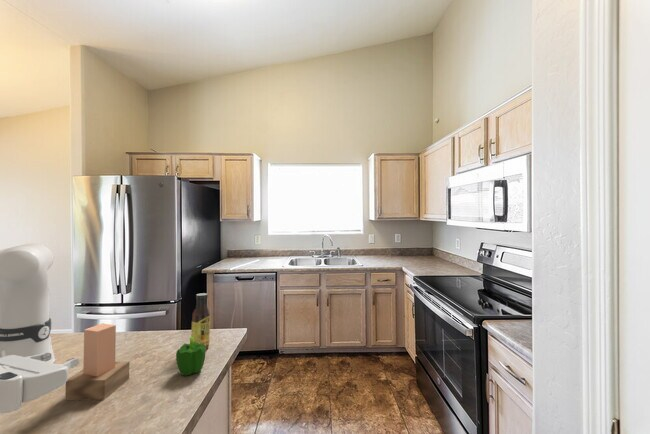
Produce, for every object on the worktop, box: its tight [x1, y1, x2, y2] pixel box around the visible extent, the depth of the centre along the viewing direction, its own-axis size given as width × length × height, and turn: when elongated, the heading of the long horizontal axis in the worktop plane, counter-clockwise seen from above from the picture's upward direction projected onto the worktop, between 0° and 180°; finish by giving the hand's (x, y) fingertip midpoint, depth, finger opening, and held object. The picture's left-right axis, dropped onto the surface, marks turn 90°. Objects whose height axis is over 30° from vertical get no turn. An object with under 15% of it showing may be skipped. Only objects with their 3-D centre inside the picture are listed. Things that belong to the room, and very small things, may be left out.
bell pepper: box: [175, 336, 207, 376], centre depth 90 cm, size 8×8×10 cm
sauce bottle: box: [190, 292, 211, 350], centre depth 106 cm, size 7×6×20 cm
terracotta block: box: [82, 323, 117, 376], centre depth 81 cm, size 5×5×12 cm
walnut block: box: [64, 361, 130, 401], centre depth 80 cm, size 10×10×5 cm
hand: (62, 358), depth 72 cm, fingers open, 8 cm apart
